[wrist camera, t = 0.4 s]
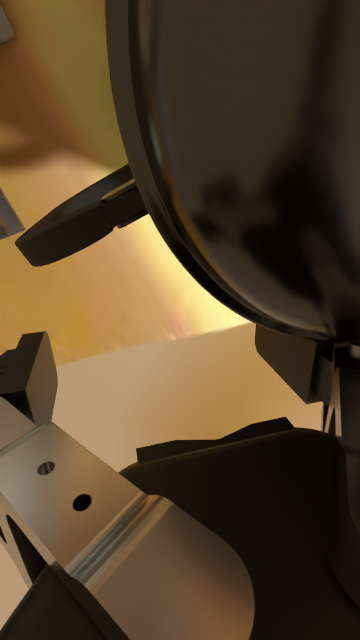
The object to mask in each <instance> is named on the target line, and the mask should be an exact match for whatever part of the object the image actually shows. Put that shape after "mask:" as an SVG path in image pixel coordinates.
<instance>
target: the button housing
mask: <svg viewBox="0 0 360 640" xmlns="http://www.w3.org/2000/svg"><path fill="white" fill-rule="evenodd" d="M24 230H25V228H24V226H23V224H22V223H21V221H20V219H19V218H18V216H17V214H16V213H15V211H14V210H13V208H12V206H11V205H10V203H9V201H8V200H7V198H6V196H5V195H4V193H3V192H2V190H1V188H0V240H1V239H4V238H6V237H9V236H11V235H14V234H16V233H19V232H21V231H24Z"/></svg>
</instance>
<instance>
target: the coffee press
mask: <svg viewBox="0 0 360 640" xmlns="http://www.w3.org/2000/svg"><path fill="white" fill-rule="evenodd" d="M105 18H106V39H107V52H108V63H109V72H110V79H111V87H112V93H113V99H114V105H115V110H116V115H117V120H118V125H119V129H120V133H121V137H122V141H123V145H124V148H125V152H126V155H127V159H128V162H129V163H128V164H127V165H125V166H124V167H122V168H120V169H118V170H117V171H115V172H113V173H111V174H110V175H108V176H106V177H104V178H103V179H101V180H99V181H98V182H96V183H94V184H92V185H91V186H89V187H87V188H86V189H84V190H82V191H81V192H79V193H77V194H76V195H74V196H73V197H71V198H69V199H68V200H66V201H65V202H63V203H62V204H60V205H59V206H58V207H56V208H55V209H53V210H52V211H51V212H50V213H48V214H47V215H46V216H45V217H43V218H42V219H41V220H40V221H38V222H37V223H36V224H35V225H33V226H32V227H31V228H30V229H28V230H27V231H26V232H25V233H24V234H22V235H21V236H20V237H19V238H18V239H17V240H16V242H15V245H16V246H17V247H18V249H19V250H20V251H21V252H22V254H23V255H24V256H25V258H26V259H27V260H28V261H29V263H30V264H31V265H32V266H35V267H37V266H44V265H48V264H51V263H53V262H56V261H59V260H61V259H63V258H66V257H68V256H70V255H72V254H74V253H76V252H78V251H80V250H82V249H84V248H86V247H88V246H90V245H92V244H93V243H95V242H97V241H99V240H100V239H102V238H103V237H105V236H106V235H108V234H109V233H110V232H112V231H113V228H114V227H115V226H117V227H118V229H120V228H122V227H125V226H127V225H128V224H130V223H132V222H134V221H136V220H138V219H139V218H141V217H143V216H145V215H147V214H150V216H151V218H152V220H153V222H154V224H155V226H156V228H157V229H158V231H159V233H160V234H161V236H162V238H163V239H164V241H165V242H166V244H167V245H168V247H169V248H170V250H171V251H172V253H173V254H174V255H175V257H176V258H177V259H178V261H179V262H180V263H181V264H182V266H183V267H184V268H185V269H186V270H187V271H188V273H189V274H190V275H191V276H192V277H193V278H194V279H195V280H196V281H197V282H198V283H199V284H200V285H201V286H202V287H203V288H204V289H205V290H206V291H207V292H208V293H210V294H211V295H212V296H213V297H214V298H216V299H217V300H218V301H219V302H221V303H222V304H223V305H225V306H226V307H228V308H229V309H231V310H232V311H234V312H235V313H237V314H238V315H240V316H242V317H244V318H246V319H247V320H249V321H251V322H253V323H255V324H258V325H260V326H262V327H265V328H267V329H270V330H273V331H275V332H279V333H282V334H285V335H289V336H293V337H298V338H303V339H309V340H318V341H334V342H335V341H336V340H342V341H349V342H360V0H105ZM136 185H137V186H136Z"/></svg>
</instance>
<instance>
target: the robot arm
mask: <svg viewBox="0 0 360 640" xmlns="http://www.w3.org/2000/svg"><path fill="white" fill-rule="evenodd" d="M255 345H256V349H257V352H258V353H259V355H260V356H261V357H262V358H263V359H264V360H265V361H266V362H267V363H268V364H269V365H270V366H271V367H272V368H273V369H274V370H275V372H276V373H277V374H278V375H279V376H280V377H281V378H282V379H283V380H284V381H285V382H286V383H287V384H288V385H289V386H290V387H291V388H292V389H293V391H294V392H295V393H296V394H297V395H298V396H299V397H300V398H301V399H302V400H303V401H304V402H305V403H306V404H310V403H315V402H320V401H322V402H323V406H322V412H321V431H318V430H314V429H308V428H296V427H293V425H292V424H291V423H290V421H289V420H288V419H287V418H286V417H282V418H278V419H273V420H268V421H263V422H259V423H255V424H251V425H248V426H247V427H244V428H242V429H240V430H238V431H236V432H234V433H231V434H229V435H227V436H225V437H223V438H221V439H217V440H175V441H169V442H165V443H160V444H155V445H151V446H146V447H141V448H137V449H136V452H137V460H138V462H136V463H134V464H131V465H130V466H128V467H126V468H125V469H123V470H122V471H120V472H119V473H118V472H116V471H115V470H114V469H113V468H111V467H110V466H109V465H107V464H106V463H105V462H103V461H102V460H101V459H99V458H98V457H97V456H96V455H94V454H93V453H92V452H91V451H89V450H88V449H87V448H85V447H84V446H83V445H81V444H80V443H79V442H78V441H76V440H75V439H74V438H72V437H71V436H70V435H69V434H67V433H66V432H64V431H63V430H62V429H61V428H60V427H58V426H57V425H56V424H54V423H53V422H51V420H52V414H53V408H54V403H55V397H56V392H57V385H58V384H57V383H58V381H57V371H56V367H55V362H54V358H53V353H52V349H51V345H50V340H49V337H48V334H47V332H46V331H44V332H36V333H28V334H23V335H22V337H21V339H20V341H19V343H18V345H17V347H16V349H12V350H7V351H6V352H5V353H3V354H2V355H1V356H0V542H1V543H2V545H3V546H4V548H5V549H6V550H7V552H8V553H9V555H10V556H11V558H12V559H13V561H14V563H15V565H16V566H17V568H18V570H19V572H20V574H21V576H22V578H23V579H24V581H25V583H26V584H27V586H28V588H29V590H28V592H27V593H26V595H25V596H24V597H23V599H22V600H21V602H20V603H19V605H18V606H17V608H16V609H15V610H14V612H13V613H12V614H11V616H10V617H9V619H8V620H7V622H6V623H5V624H4V626H3V627H2V629H1V630H0V640H360V342H349V341H342V340H336V341H335V342H334V341H318V340H309V339H303V338H298V337H293V336H289V335H285V334H282V333H279V332H275V331H273V330H270V329H267V328H265V327H262V326H260V325H258V324H256V331H255Z"/></svg>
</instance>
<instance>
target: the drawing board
mask: <svg viewBox="0 0 360 640" xmlns="http://www.w3.org/2000/svg"><path fill="white" fill-rule="evenodd" d="M14 38H16V36H15V34H14V32H13V30H12V27H11V25H10V23H9V21H8V19H7V17H6V14H5V12H4V10H3V8H2V6H1V4H0V44H1V43H3V42H6V41H9V40H11V39H14Z"/></svg>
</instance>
